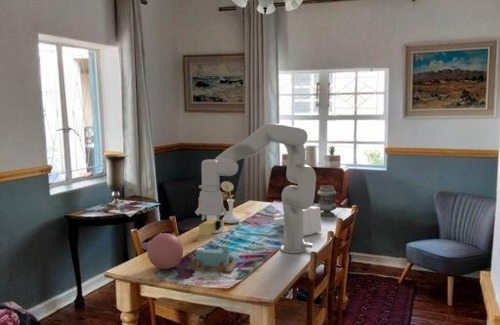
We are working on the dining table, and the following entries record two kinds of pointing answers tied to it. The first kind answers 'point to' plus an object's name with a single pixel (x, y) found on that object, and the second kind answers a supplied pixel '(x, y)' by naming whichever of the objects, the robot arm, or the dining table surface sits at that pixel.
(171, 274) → the dining table surface
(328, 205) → the apothecary jar
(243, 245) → the dining table surface
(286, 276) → the dining table surface
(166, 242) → the balloon
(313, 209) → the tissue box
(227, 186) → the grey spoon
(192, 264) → the jig
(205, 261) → the teal notched block
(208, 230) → the tan wooden bar
